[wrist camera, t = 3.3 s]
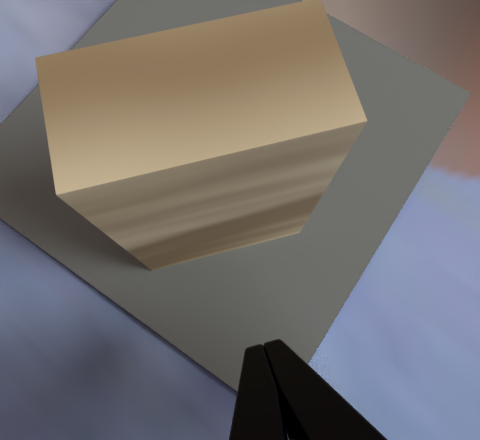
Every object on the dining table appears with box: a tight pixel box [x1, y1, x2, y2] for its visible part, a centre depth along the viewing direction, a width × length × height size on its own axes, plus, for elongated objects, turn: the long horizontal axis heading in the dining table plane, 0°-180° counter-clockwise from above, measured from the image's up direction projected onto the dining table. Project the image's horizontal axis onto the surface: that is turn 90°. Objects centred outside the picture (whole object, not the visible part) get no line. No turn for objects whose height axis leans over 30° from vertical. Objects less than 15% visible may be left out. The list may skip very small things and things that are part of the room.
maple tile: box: [35, 0, 367, 271], centre depth 13 cm, size 3×6×9 cm, turn 105°
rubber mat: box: [0, 0, 471, 391], centre depth 18 cm, size 16×16×1 cm
